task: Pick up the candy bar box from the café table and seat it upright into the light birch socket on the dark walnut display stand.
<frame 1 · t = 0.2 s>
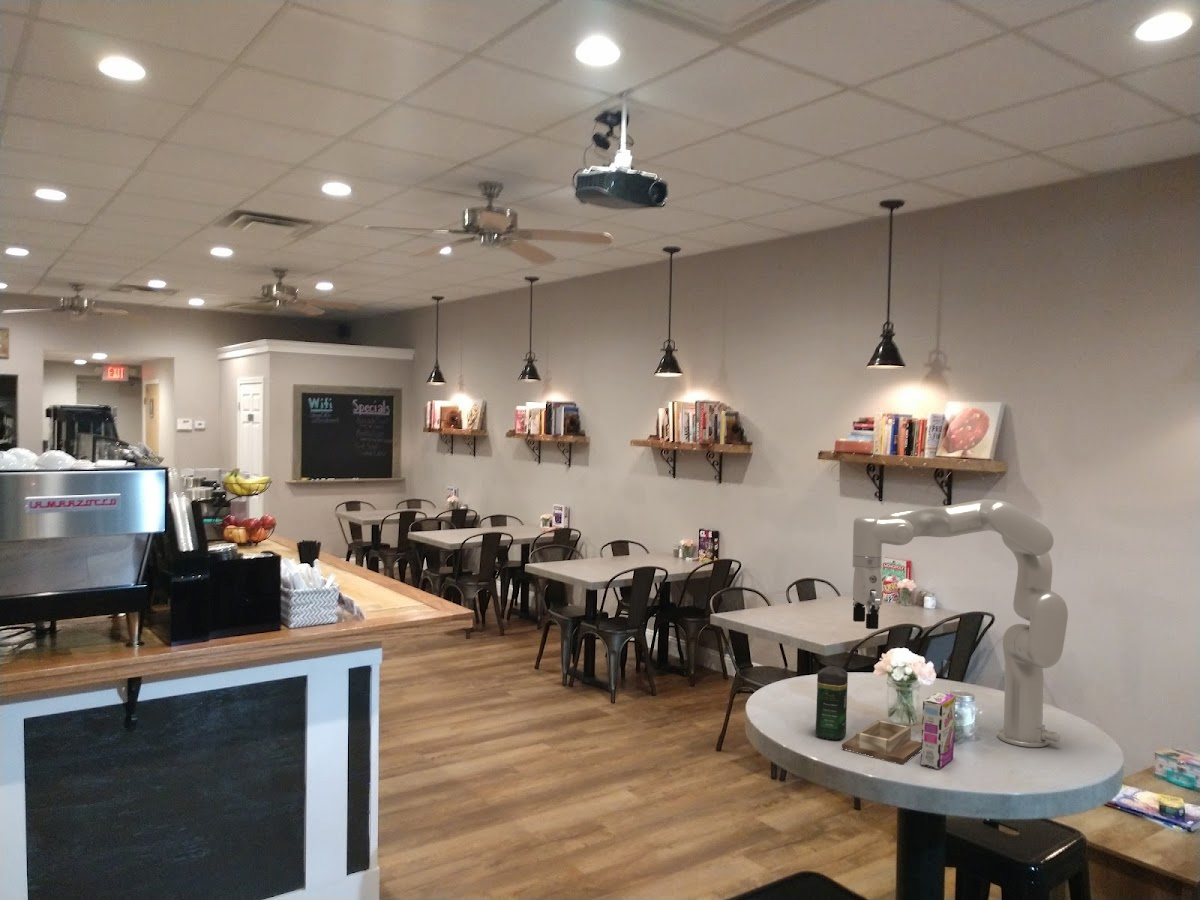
hand: (865, 624, 237), 31 cm above the table, tool pointing down, fingers open, 9 cm apart
candy bar box: (937, 763, 220), on the table
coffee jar: (831, 736, 239), on the table
display stand: (883, 749, 229), on the table
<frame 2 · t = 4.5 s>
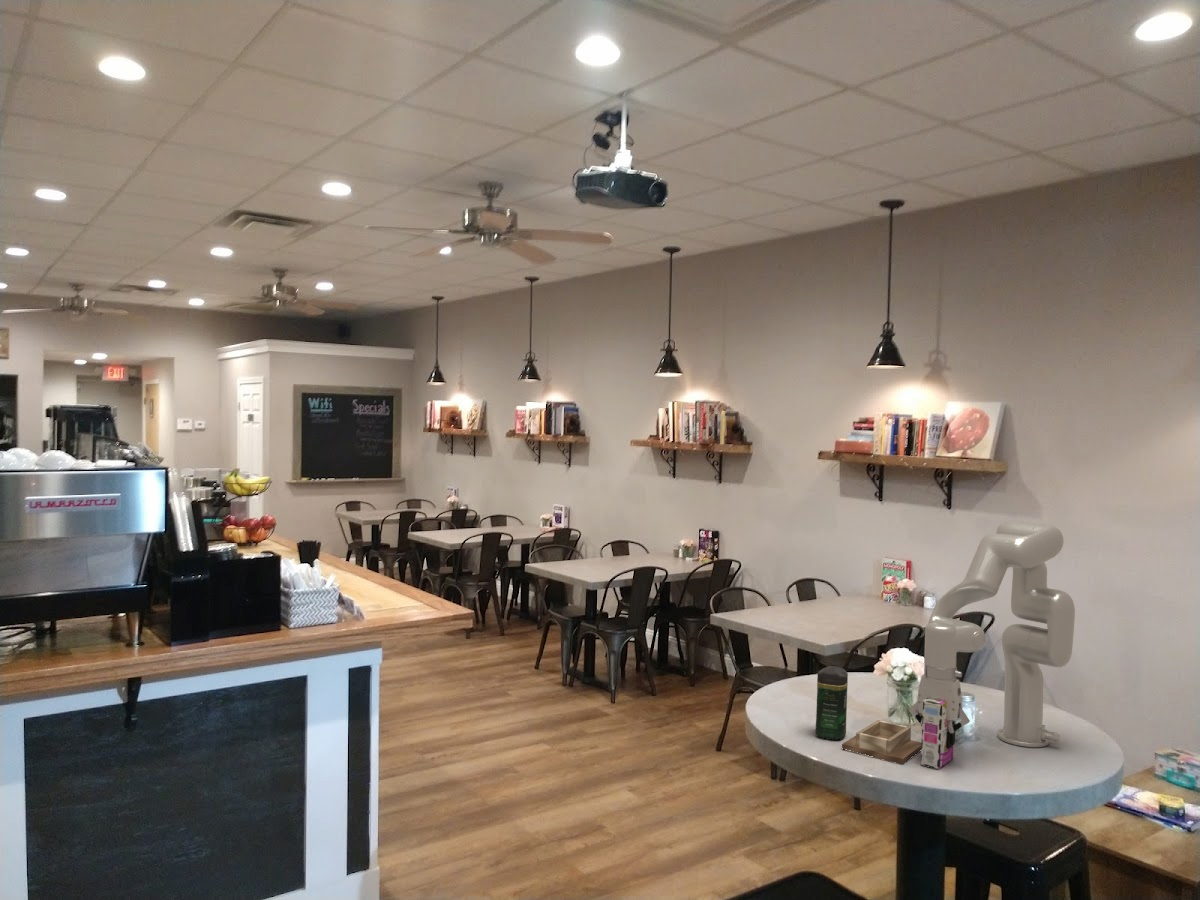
hand: (938, 743, 220), 5 cm above the table, tool pointing down, fingers closed on candy bar box, 5 cm apart
candy bar box: (937, 763, 220), on the table, touching gripper
everything else where it was.
when the fingers open (7 cm above the table, at t = 11.4 s): candy bar box drops 1 cm, resting on display stand.
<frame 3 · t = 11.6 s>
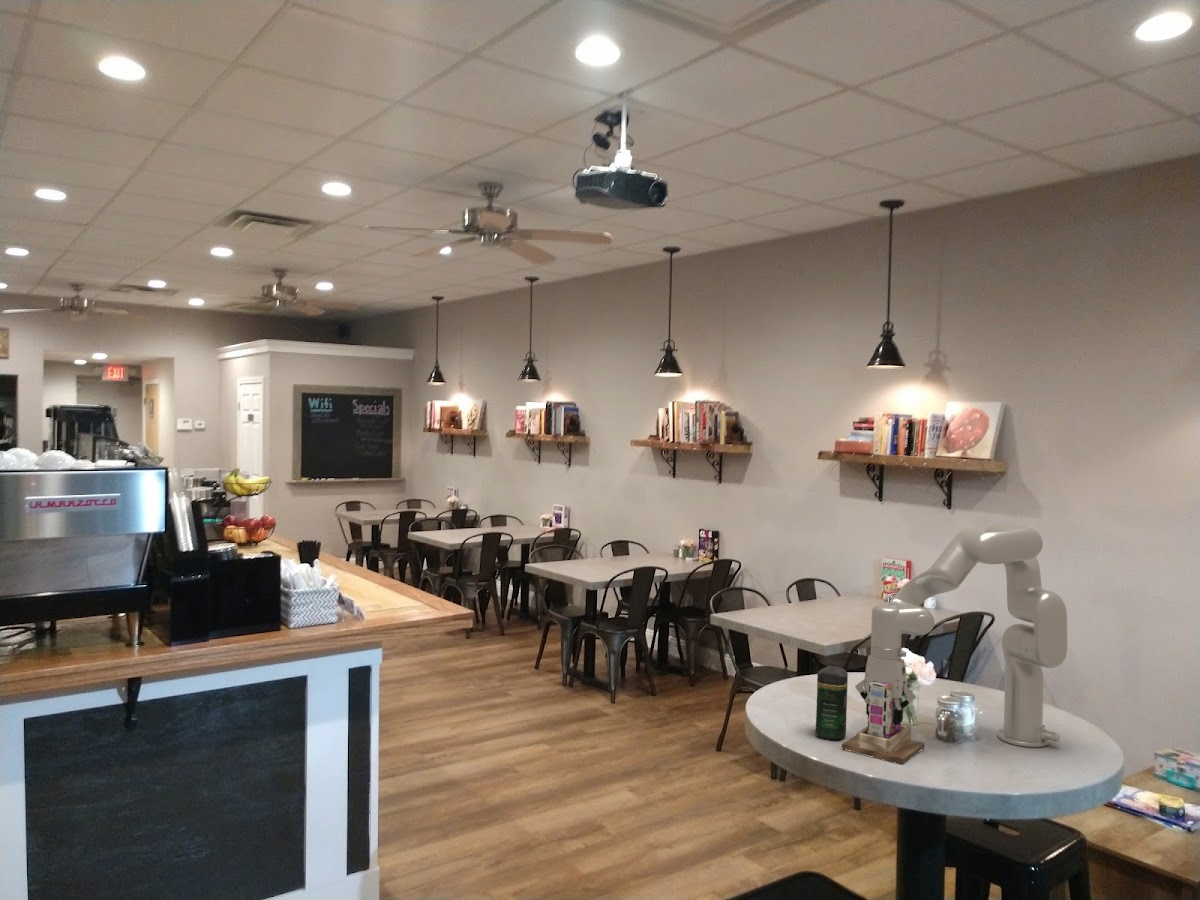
hand: (884, 720, 229), 8 cm above the table, tool pointing down, fingers open, 6 cm apart
candy bar box: (884, 744, 229), point 1 cm above the table, touching display stand
everything else where it was.
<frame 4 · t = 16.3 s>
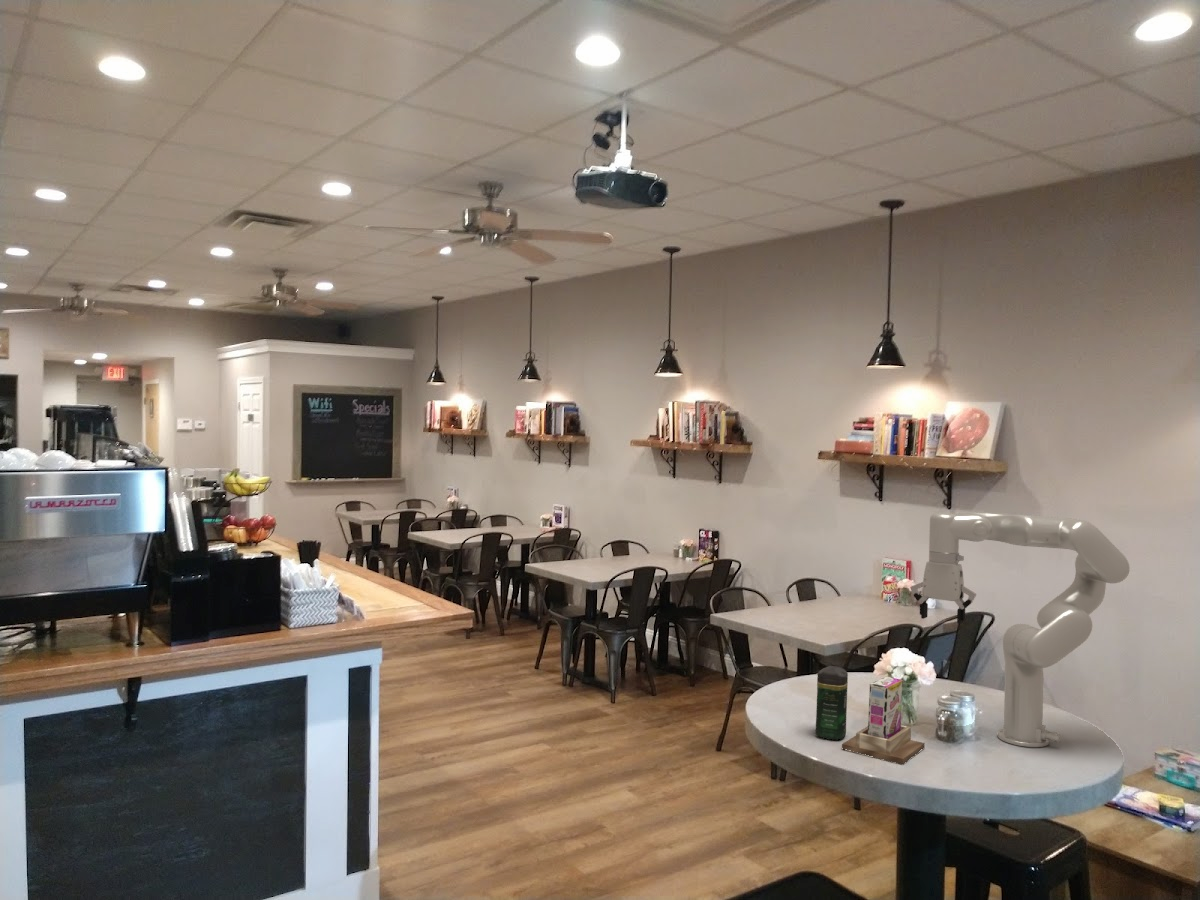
hand: (942, 620, 239), 32 cm above the table, tool pointing down, fingers open, 9 cm apart
nothing on the table moved.
at the end: candy bar box 0.3 cm off-centre on the display stand, point 1.3 cm above the display stand's base; candy bar box tilted 0°; the gripper is holding nothing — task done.
